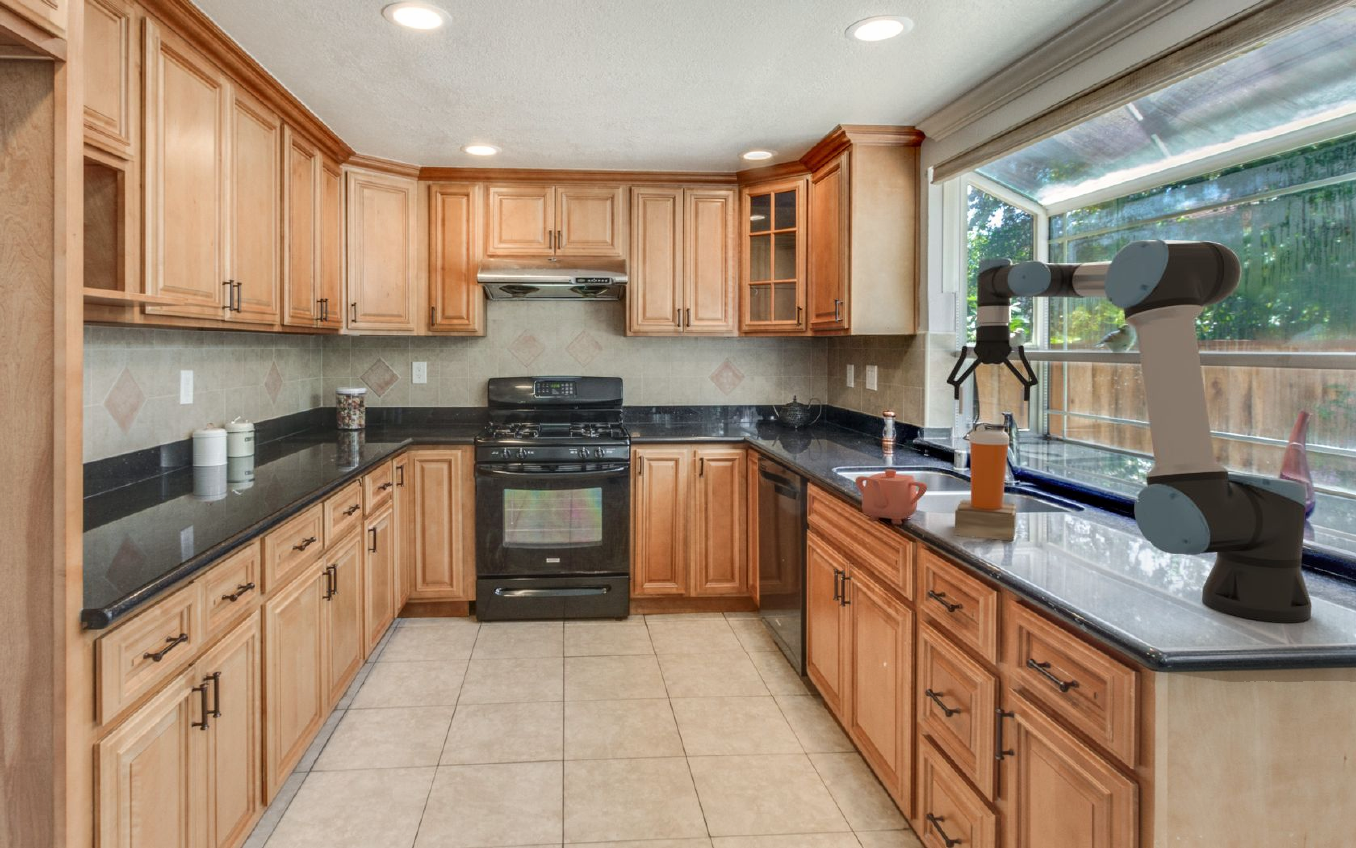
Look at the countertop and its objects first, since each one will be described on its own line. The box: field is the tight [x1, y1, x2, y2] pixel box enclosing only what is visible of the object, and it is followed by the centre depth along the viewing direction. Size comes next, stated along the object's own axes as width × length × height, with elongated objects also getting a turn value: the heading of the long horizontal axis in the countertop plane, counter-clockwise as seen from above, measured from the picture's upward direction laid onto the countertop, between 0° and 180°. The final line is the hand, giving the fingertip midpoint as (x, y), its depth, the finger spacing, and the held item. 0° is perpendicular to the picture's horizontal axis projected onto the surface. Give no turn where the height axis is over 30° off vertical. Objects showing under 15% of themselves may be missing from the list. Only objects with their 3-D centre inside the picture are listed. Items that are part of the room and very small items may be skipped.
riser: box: [954, 499, 1017, 542], centre depth 190 cm, size 13×13×6 cm
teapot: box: [855, 468, 928, 525], centre depth 204 cm, size 17×16×13 cm
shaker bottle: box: [969, 423, 1010, 510], centre depth 188 cm, size 9×9×20 cm
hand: (990, 414), depth 187 cm, fingers open, 13 cm apart
